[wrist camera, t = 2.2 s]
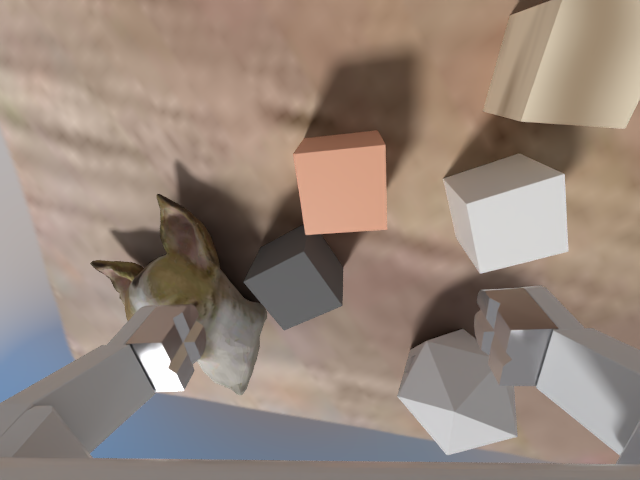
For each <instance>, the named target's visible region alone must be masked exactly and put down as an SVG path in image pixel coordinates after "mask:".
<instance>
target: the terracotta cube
mask: <svg viewBox="0 0 640 480" xmlns="http://www.w3.org/2000/svg"><path fill="white" fill-rule="evenodd" d="M293 157H294V163H295V170H296V176H297V183H298V189H299V196H300V202H301V209H302V216H303V222H304V229H305V235H314V234H328V233H343V232H358V231H372V230H387V197H386V145H385V143H384V141H383V139H382V137H381V135H380V134H379V132H378V130H376V131H366V132H357V133H348V134H339V135H329V136H320V137H311V138H304V139H303V141H302V142H301V143H300V145H299V146H298V148H297V149H296V151H295V152H294V154H293Z"/></svg>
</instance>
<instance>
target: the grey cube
mask: <svg viewBox="0 0 640 480" xmlns="http://www.w3.org/2000/svg"><path fill="white" fill-rule="evenodd" d="M443 181H444V185H445V190H446V194H447V199H448V203H449V208H450V212H451V216H452V221H453V225H454V230H455V234H456V238H457V240H458V241H459V243H460V244H461V246H462V247H463V249H464V250H465V252H466V253H467V255H468V256H469V258H470V259H471V261H472V262H473V264H474V265H475V267H476V268H477V270H478V271H479V273H480V274H481V273H485V272H489V271H493V270H497V269H501V268H505V267H509V266H513V265H517V264H521V263H525V262H529V261H533V260H537V259H541V258H544V257H548V256H552V255H556V254H560V253H564V252H568V234H567V214H566V194H565V174H564V173H561V172H559V171H557V170H555V169H553V168H550V167H548V166H546V165H544V164H542V163H540V162H537V161H535V160H533V159H531V158H529V157H526V156H524V155H522V154H520V153H519V154H516V155H513V156H510V157H507V158H504V159H501V160H498V161H495V162H492V163H489V164H486V165H483V166H480V167H477V168H473V169H470V170H467V171H464V172H461V173H458V174H455V175H452V176H449V177H446V178H443Z"/></svg>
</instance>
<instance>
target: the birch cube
mask: <svg viewBox="0 0 640 480" xmlns="http://www.w3.org/2000/svg"><path fill="white" fill-rule="evenodd" d="M639 100H640V0H551V1H548V2H545V3H542V4H540V5H537V6H534V7H531V8H529V9H526V10H523V11H520V12H518V13H515V14H512V15H510V17H509V20H508V24H507V27H506V31H505V34H504V38H503V41H502V45H501V48H500V52H499V56H498V59H497V63H496V66H495V70H494V73H493V77H492V80H491V84H490V87H489V91H488V94H487V98H486V102H485V105H484V109H483V112H487V113H491V114H495V115H498V116H502V117H506V118H509V119H513V120H517V121H521V122H535V123H549V124H563V125H578V126H592V127H606V128H621V129H625V128H626V126H627V124H628V122H629V120H630V118H631V116H632V114H633V112H634V110H635V108H636V106H637V104H638V102H639Z"/></svg>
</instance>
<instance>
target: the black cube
mask: <svg viewBox="0 0 640 480" xmlns="http://www.w3.org/2000/svg"><path fill="white" fill-rule="evenodd" d="M243 282H244V283H245V285H246V286H247V287H248V288H249V289H250V291H251V292H252V293H253V294H254V295H255V297H256V298H257V299H258V300H259V301H260V302H261V304H262V305H263V306H264V307H265V308H266V310H267V311H268V312H269V313H270V314H271V315H272V317H273V318H274V319H275V320H276V321H277V323H278V324H279V325H280V326H281V327H282V329H283V330H286V329H289V328H291V327H293V326H296V325H298V324H300V323H303V322H305V321H308V320H310V319H312V318H315V317H317V316H319V315H322V314H324V313H326V312H329V311H331V310H334V309H336V308H338V307H341V306H342V298H343V267H342V265H341V264H340V262H339V261H338V259H337V258H336V256H335V255H334V253H333V252H332V250H331V249H330V247H329V246H328V244H327V243H326V241H325V240H324V238H323V237H322V235H321V234H314V235H305V229H304V224H303V225H302V226H300V227H298V228H296V229H294V230H292V231H290V232H289V233H287V234H285V235H283V236H281V237H279V238H277V239H276V240H274V241H272V242H270V243H268V244H266V245H264V246H262V247H261V248H260V250H259V252H258V254H257V256H256V258H255V260H254V262H253V264H252V266H251V268H250V270H249V272H248V274H247V276H246V278H245V280H244V281H243Z"/></svg>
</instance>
